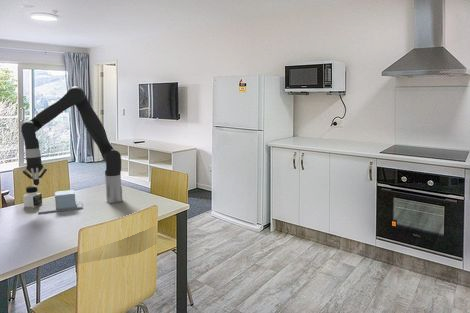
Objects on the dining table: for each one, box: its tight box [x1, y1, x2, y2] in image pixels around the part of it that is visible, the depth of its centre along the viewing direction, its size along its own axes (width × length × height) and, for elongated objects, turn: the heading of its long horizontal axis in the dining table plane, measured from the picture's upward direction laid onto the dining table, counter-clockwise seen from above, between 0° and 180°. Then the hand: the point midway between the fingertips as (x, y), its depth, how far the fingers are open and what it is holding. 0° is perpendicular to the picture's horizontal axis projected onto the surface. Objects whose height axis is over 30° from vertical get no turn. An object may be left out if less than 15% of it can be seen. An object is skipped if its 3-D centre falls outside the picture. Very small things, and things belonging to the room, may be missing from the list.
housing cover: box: [54, 189, 76, 209], centre depth 212 cm, size 10×10×8 cm
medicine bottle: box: [22, 185, 43, 208], centre depth 216 cm, size 7×7×12 cm
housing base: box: [37, 200, 83, 215], centre depth 211 cm, size 23×12×2 cm, turn 115°
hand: (36, 185), depth 208 cm, fingers closed
